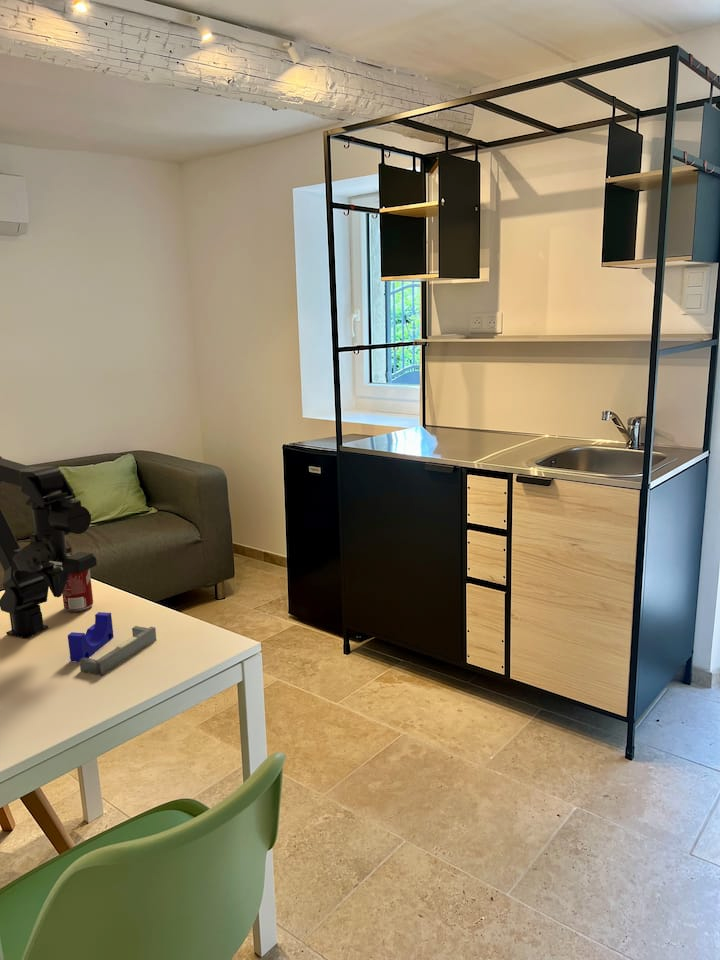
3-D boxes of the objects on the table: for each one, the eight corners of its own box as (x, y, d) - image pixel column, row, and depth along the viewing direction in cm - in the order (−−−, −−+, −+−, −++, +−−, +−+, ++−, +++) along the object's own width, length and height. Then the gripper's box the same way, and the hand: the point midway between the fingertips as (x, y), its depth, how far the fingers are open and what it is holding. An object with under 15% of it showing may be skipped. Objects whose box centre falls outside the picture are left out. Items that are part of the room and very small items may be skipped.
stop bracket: (80, 671, 147) (78, 656, 147) (136, 636, 163) (135, 622, 162) (101, 675, 145) (100, 660, 144) (156, 640, 161) (155, 626, 160)
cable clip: (95, 636, 164) (92, 611, 162) (113, 638, 163) (111, 612, 161) (64, 661, 152) (61, 634, 151) (83, 663, 151) (80, 636, 150)
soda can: (87, 613, 176) (82, 565, 173) (59, 613, 176) (54, 566, 173) (97, 602, 183) (92, 556, 180) (70, 602, 183) (65, 557, 180)
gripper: (-16, 533, 150) (-6, 604, 154) (54, 542, 143) (63, 617, 147) (27, 519, 160) (36, 586, 164) (94, 527, 153) (102, 597, 157)
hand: (57, 596), depth 157 cm, fingers closed
